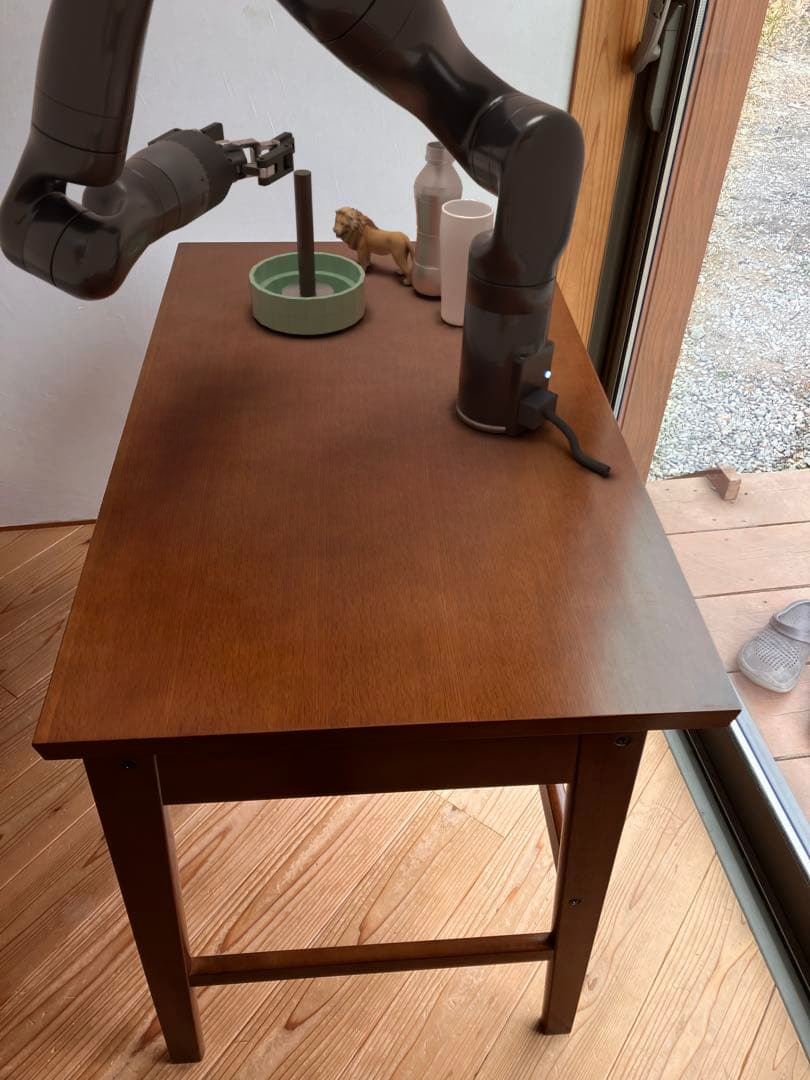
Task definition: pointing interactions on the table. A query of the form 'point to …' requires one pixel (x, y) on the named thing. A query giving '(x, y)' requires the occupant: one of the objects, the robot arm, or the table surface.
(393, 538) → the table surface
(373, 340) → the table surface
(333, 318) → the bowl
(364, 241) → the lion figurine
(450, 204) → the drinking glass
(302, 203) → the peg stand
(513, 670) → the table surface
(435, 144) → the plastic bottle
